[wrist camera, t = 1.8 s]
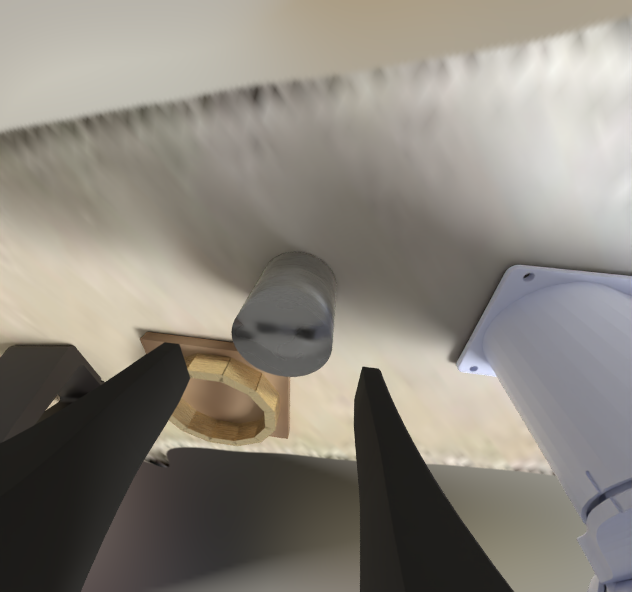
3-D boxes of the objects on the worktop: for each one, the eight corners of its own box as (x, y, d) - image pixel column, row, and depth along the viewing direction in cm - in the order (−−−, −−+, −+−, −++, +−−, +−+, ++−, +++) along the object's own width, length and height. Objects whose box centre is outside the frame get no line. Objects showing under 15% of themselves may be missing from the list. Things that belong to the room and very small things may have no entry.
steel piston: (340, 255, 14) (337, 308, 10) (332, 319, 17) (327, 382, 13) (260, 247, 15) (225, 295, 10) (264, 311, 17) (237, 370, 13)
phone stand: (126, 409, 26) (-11, 582, 16) (76, 406, 27) (-85, 570, 17) (73, 344, 21) (-170, 535, 11) (14, 343, 22) (-262, 521, 12)
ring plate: (290, 349, 19) (283, 375, 17) (289, 430, 25) (284, 456, 23) (147, 331, 19) (123, 355, 17) (180, 414, 25) (166, 439, 23)
